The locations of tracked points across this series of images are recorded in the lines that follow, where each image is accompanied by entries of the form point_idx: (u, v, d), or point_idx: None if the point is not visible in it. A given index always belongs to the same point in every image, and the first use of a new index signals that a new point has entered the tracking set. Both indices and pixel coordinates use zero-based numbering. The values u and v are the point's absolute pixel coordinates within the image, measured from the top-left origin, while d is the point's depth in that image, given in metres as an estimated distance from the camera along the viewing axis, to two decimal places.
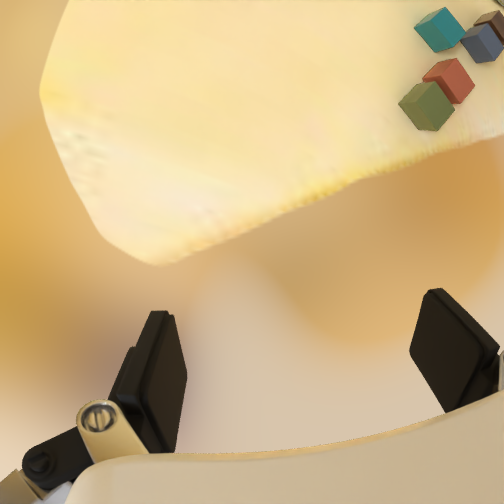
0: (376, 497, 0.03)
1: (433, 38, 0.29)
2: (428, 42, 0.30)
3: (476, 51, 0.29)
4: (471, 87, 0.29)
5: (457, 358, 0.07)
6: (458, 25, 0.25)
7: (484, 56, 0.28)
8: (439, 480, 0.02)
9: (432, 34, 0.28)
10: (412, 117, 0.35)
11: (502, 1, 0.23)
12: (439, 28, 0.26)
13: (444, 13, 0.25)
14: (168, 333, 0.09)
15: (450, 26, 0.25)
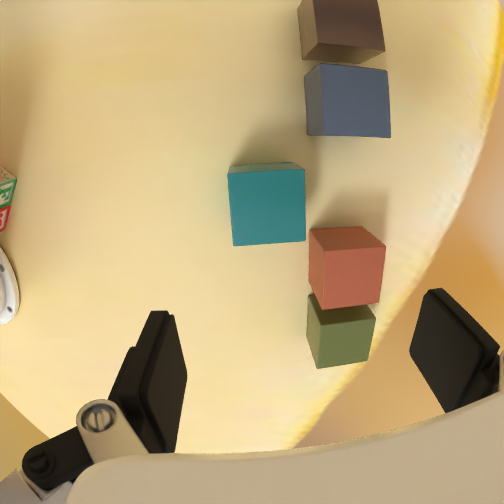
0: (376, 497, 0.03)
1: None
2: None
3: None
4: (381, 259, 0.22)
5: (457, 358, 0.07)
6: (279, 178, 0.19)
7: None
8: (439, 480, 0.03)
9: None
10: None
11: None
12: (259, 240, 0.21)
13: (239, 193, 0.19)
14: (168, 333, 0.09)
15: (269, 205, 0.20)
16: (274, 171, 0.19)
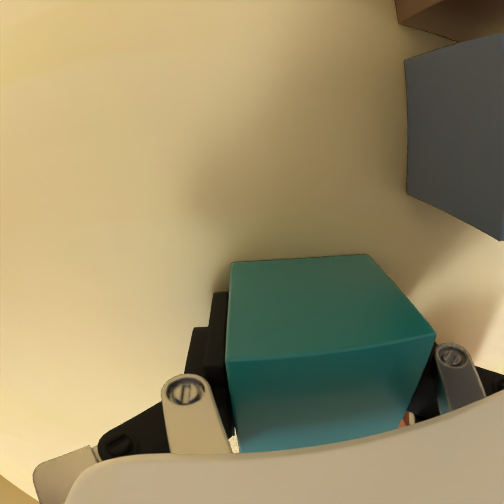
0: (376, 497, 0.03)
1: None
2: None
3: None
4: None
5: None
6: (374, 361, 0.06)
7: None
8: (439, 480, 0.03)
9: None
10: None
11: None
12: None
13: (258, 401, 0.06)
14: None
15: (335, 414, 0.07)
16: (365, 348, 0.06)
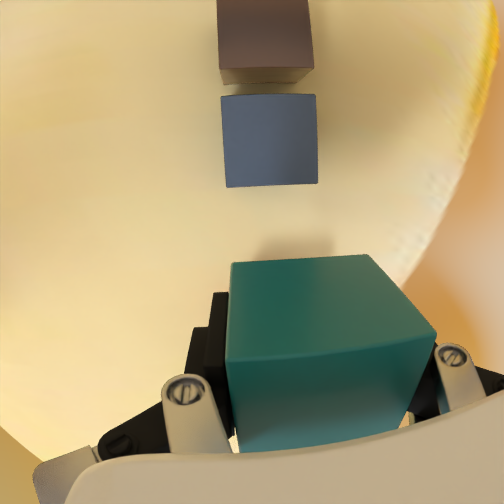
0: (376, 497, 0.03)
1: None
2: None
3: None
4: None
5: None
6: (374, 362, 0.06)
7: None
8: (439, 480, 0.03)
9: None
10: None
11: None
12: None
13: (258, 401, 0.06)
14: None
15: (335, 414, 0.07)
16: (365, 348, 0.06)
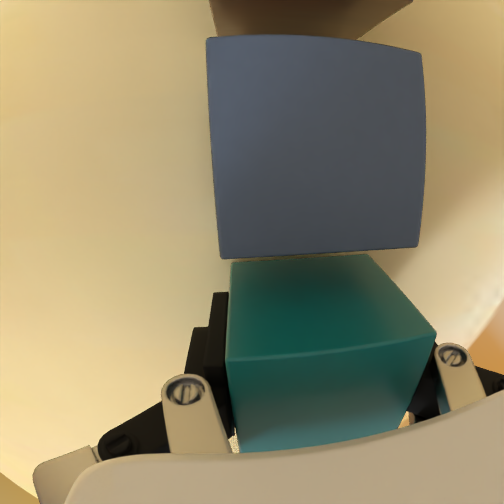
0: (376, 497, 0.03)
1: None
2: None
3: None
4: None
5: None
6: (374, 361, 0.06)
7: None
8: (439, 480, 0.02)
9: None
10: None
11: None
12: None
13: (259, 400, 0.06)
14: None
15: (335, 414, 0.07)
16: (365, 347, 0.06)
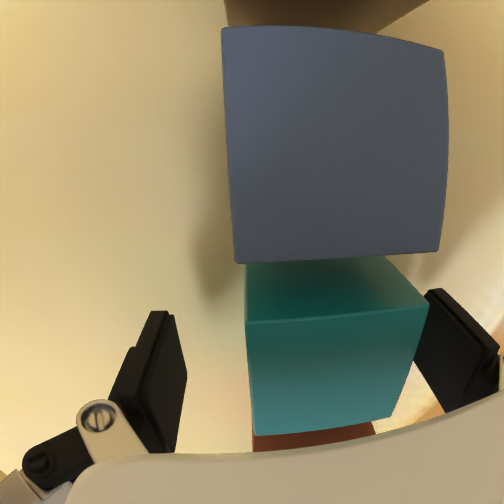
0: (376, 497, 0.03)
1: None
2: None
3: None
4: None
5: (457, 358, 0.07)
6: (374, 327, 0.07)
7: None
8: (439, 480, 0.03)
9: None
10: None
11: None
12: (306, 428, 0.09)
13: (273, 363, 0.08)
14: (168, 333, 0.09)
15: (340, 379, 0.08)
16: (366, 314, 0.07)
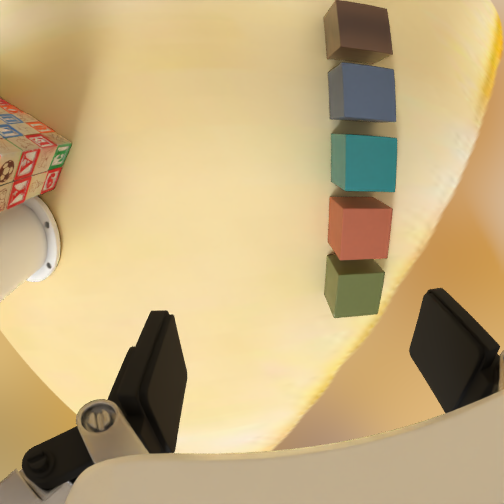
0: (376, 497, 0.03)
1: None
2: None
3: (363, 120, 0.25)
4: (389, 219, 0.26)
5: (457, 358, 0.07)
6: (381, 142, 0.23)
7: None
8: (439, 480, 0.03)
9: None
10: None
11: None
12: (363, 188, 0.25)
13: (353, 150, 0.24)
14: (168, 333, 0.09)
15: (373, 162, 0.24)
16: (377, 137, 0.23)
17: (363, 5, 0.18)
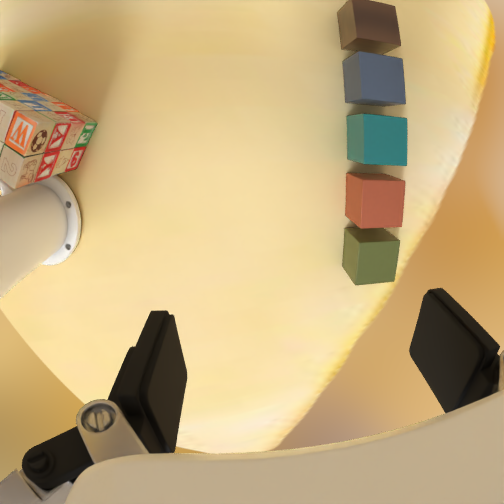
0: (376, 497, 0.03)
1: None
2: None
3: (375, 103, 0.27)
4: (402, 190, 0.28)
5: (457, 358, 0.07)
6: (393, 121, 0.25)
7: (389, 103, 0.26)
8: (439, 480, 0.02)
9: None
10: None
11: None
12: (380, 161, 0.27)
13: (370, 127, 0.25)
14: (168, 333, 0.09)
15: (387, 138, 0.26)
16: (390, 116, 0.25)
17: (374, 2, 0.20)
